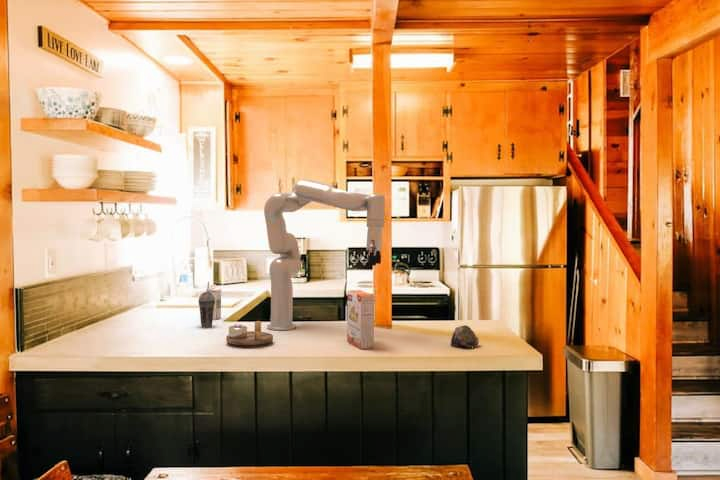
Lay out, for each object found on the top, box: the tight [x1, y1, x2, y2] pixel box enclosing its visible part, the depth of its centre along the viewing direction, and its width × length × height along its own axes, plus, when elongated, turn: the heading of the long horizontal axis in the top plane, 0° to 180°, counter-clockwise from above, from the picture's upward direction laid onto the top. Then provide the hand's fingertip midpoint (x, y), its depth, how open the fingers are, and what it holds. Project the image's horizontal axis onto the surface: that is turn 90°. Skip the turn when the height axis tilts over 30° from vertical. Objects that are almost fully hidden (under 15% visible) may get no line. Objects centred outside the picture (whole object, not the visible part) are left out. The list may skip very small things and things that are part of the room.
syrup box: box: [205, 287, 222, 321], centre depth 278 cm, size 6×6×14 cm
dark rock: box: [450, 324, 480, 349], centre depth 230 cm, size 11×9×10 cm
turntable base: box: [238, 344, 263, 347], centre depth 229 cm, size 11×11×1 cm
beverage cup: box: [198, 281, 215, 329], centre depth 258 cm, size 7×7×20 cm
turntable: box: [226, 320, 274, 346], centre depth 229 cm, size 18×18×8 cm
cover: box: [228, 324, 248, 339], centre depth 226 cm, size 7×7×5 cm
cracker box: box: [346, 289, 375, 350], centre depth 228 cm, size 14×6×21 cm, turn 23°
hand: (374, 264), depth 245 cm, fingers open, 9 cm apart
